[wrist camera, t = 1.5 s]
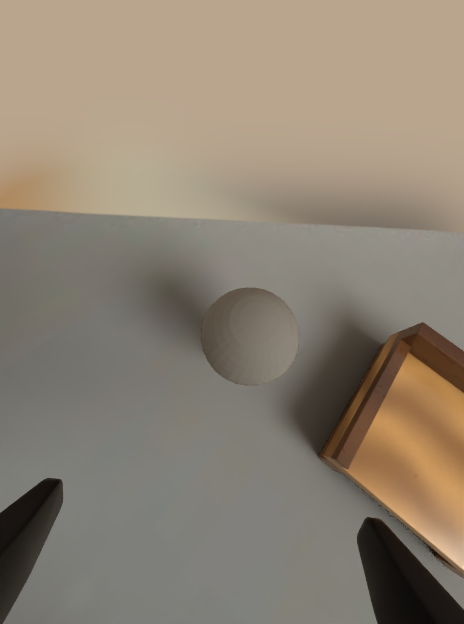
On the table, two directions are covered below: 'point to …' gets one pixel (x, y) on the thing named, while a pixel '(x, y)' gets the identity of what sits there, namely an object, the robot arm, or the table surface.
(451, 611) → the robot arm
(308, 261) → the table surface
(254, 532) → the table surface
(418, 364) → the brown wooden tray
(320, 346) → the table surface
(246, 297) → the light bulb
